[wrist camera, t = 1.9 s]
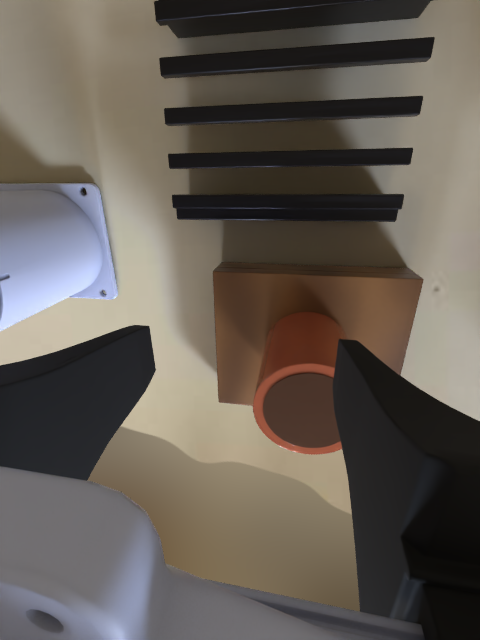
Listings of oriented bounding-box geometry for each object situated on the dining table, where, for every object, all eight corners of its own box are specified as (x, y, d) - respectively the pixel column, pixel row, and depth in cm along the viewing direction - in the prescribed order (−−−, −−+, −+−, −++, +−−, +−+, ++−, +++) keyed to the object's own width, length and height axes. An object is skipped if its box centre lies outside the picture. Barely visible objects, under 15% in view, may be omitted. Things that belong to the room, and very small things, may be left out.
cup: (263, 380, 21) (252, 448, 16) (265, 309, 19) (253, 359, 14) (343, 388, 21) (360, 462, 15) (355, 313, 18) (380, 369, 13)
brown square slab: (225, 383, 25) (218, 402, 23) (221, 261, 21) (212, 271, 19) (380, 397, 23) (389, 420, 21) (409, 267, 19) (424, 279, 17)
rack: (190, 215, 20) (173, 220, 17) (176, 14, 16) (152, -20, 13) (383, 217, 18) (399, 223, 16) (423, -10, 14) (452, -55, 12)
